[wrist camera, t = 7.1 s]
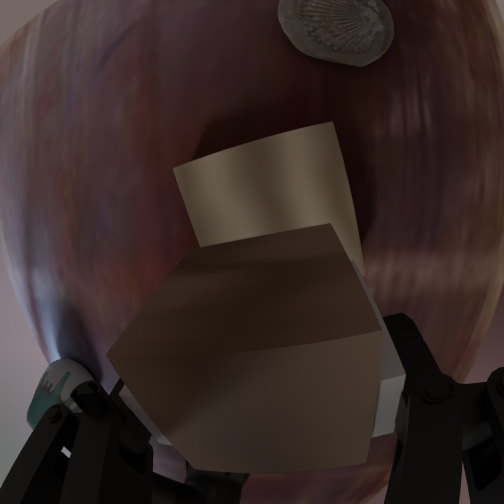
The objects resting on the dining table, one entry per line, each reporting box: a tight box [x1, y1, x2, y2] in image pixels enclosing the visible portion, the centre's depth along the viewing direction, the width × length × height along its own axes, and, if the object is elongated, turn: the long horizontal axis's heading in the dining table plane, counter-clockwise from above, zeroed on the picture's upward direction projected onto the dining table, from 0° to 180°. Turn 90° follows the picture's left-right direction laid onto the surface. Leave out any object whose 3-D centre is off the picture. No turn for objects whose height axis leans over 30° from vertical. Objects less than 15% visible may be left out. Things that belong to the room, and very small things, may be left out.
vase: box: [27, 359, 94, 430], centre depth 36 cm, size 12×12×18 cm
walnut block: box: [106, 223, 382, 473], centre depth 9 cm, size 6×6×7 cm
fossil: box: [277, 0, 394, 67], centre depth 19 cm, size 10×12×3 cm
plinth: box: [173, 121, 365, 277], centre depth 26 cm, size 14×14×5 cm
